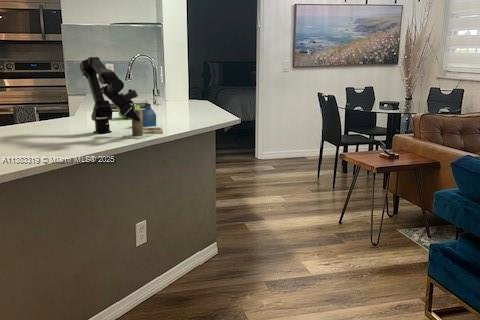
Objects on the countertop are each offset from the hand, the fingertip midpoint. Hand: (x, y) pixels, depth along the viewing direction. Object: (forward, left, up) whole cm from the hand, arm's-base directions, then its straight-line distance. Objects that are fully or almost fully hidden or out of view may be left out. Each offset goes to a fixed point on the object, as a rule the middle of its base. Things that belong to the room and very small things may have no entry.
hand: (140, 119), depth 217 cm
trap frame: (-4, +12, -8) cm, 15 cm away
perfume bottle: (-17, +26, -8) cm, 32 cm away
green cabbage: (-44, +40, -8) cm, 60 cm away
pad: (-1, -1, -8) cm, 8 cm away
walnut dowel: (-1, -1, -8) cm, 8 cm away
